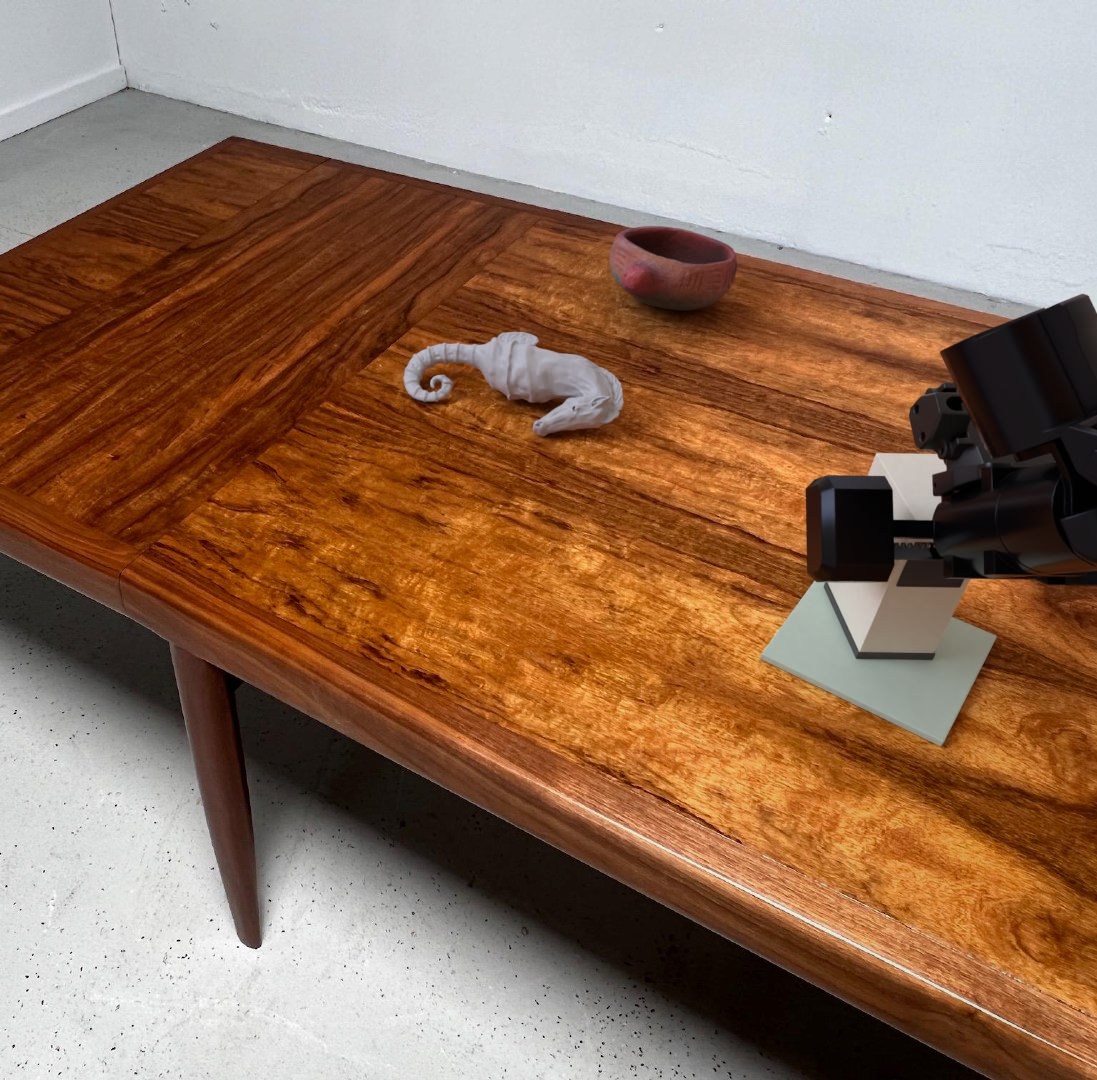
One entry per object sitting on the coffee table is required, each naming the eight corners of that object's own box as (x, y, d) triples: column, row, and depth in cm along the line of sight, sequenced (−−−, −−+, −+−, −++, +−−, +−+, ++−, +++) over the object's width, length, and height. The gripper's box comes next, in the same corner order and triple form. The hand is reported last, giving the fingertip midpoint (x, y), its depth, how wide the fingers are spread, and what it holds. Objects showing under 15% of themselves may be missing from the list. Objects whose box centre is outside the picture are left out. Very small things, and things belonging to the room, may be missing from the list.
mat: (994, 640, 73) (997, 635, 73) (941, 747, 66) (943, 742, 66) (825, 568, 79) (827, 563, 79) (759, 658, 72) (761, 653, 72)
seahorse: (388, 414, 93) (622, 414, 88) (406, 315, 98) (627, 310, 93) (398, 449, 97) (622, 451, 92) (416, 352, 103) (627, 349, 98)
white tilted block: (894, 587, 77) (953, 452, 69) (933, 660, 71) (1002, 523, 63) (823, 586, 77) (874, 451, 69) (855, 659, 71) (915, 522, 64)
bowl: (600, 272, 116) (611, 202, 111) (719, 279, 115) (735, 208, 110) (607, 345, 104) (619, 270, 99) (740, 353, 103) (759, 278, 98)
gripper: (1224, 368, 55) (1039, 424, 71) (866, 363, 55) (760, 420, 71) (1234, 581, 54) (1045, 590, 70) (871, 575, 54) (762, 586, 70)
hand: (902, 542), depth 70 cm, fingers open, 9 cm apart
